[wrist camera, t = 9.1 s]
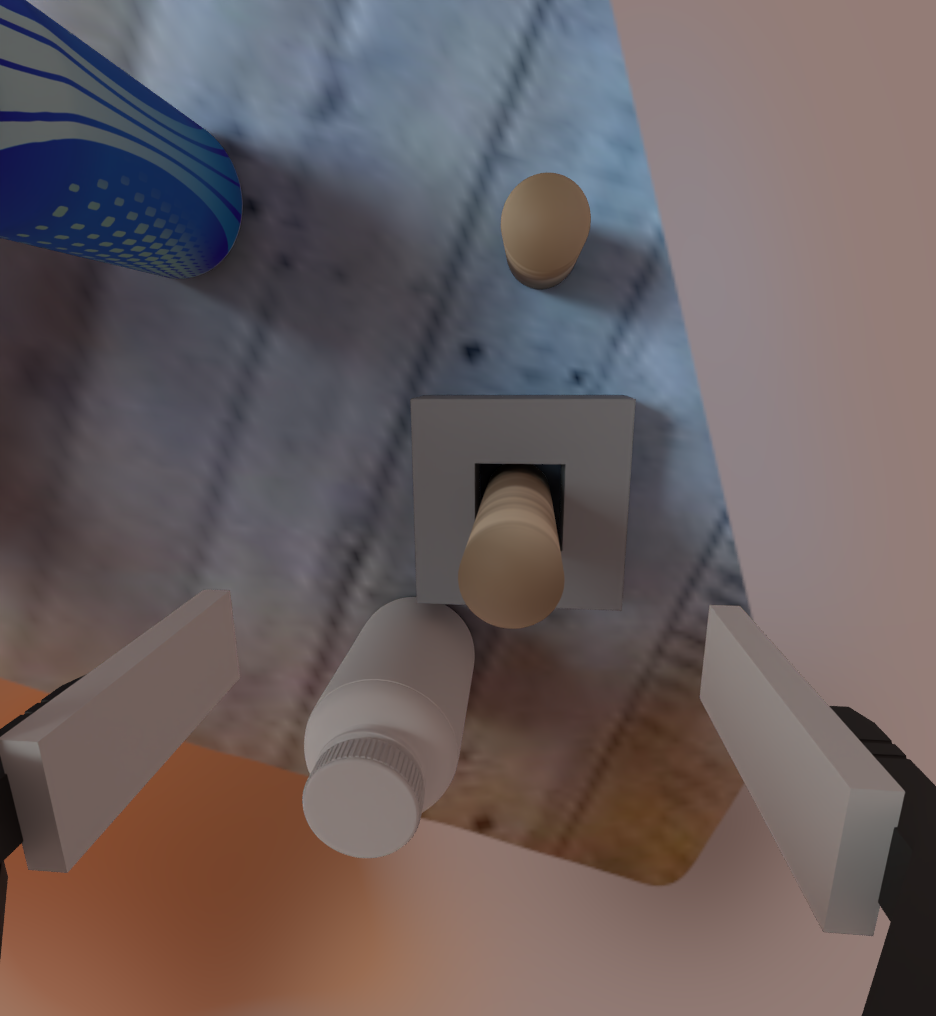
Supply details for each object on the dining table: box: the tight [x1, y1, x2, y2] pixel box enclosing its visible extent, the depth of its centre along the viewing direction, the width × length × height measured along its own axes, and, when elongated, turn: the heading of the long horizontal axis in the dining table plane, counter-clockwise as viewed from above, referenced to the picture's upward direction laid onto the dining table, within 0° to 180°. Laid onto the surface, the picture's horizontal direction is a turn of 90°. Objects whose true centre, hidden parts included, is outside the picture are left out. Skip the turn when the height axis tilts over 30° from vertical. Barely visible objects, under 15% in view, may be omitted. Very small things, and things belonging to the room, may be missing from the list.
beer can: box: [0, 0, 243, 279], centre depth 26 cm, size 8×8×16 cm
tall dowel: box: [458, 464, 565, 629], centre depth 29 cm, size 4×4×15 cm
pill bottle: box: [302, 597, 475, 858], centre depth 32 cm, size 8×8×15 cm
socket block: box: [411, 395, 636, 611], centre depth 34 cm, size 12×12×4 cm
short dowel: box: [501, 173, 591, 289], centre depth 29 cm, size 4×4×7 cm
